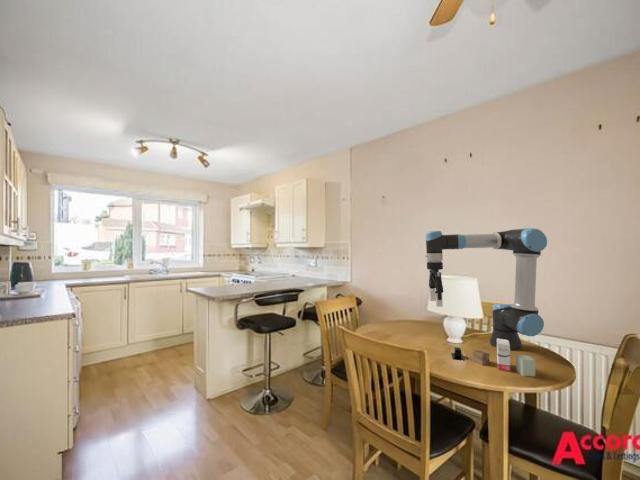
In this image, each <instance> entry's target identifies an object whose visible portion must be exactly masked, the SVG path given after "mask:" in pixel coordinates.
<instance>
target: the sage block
mask: <svg viewBox="0 0 640 480" xmlns="http://www.w3.org/2000/svg"><path fill="white" fill-rule="evenodd" d="M515 358H516V359H515V366H516V367H515V369H516V372H517V373H519V374H520V375H521V376H522V377H536V360H535V359H534V358H533V357H531V356H529V355H522V354H519V355H518V354H516V355H515Z"/></svg>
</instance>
